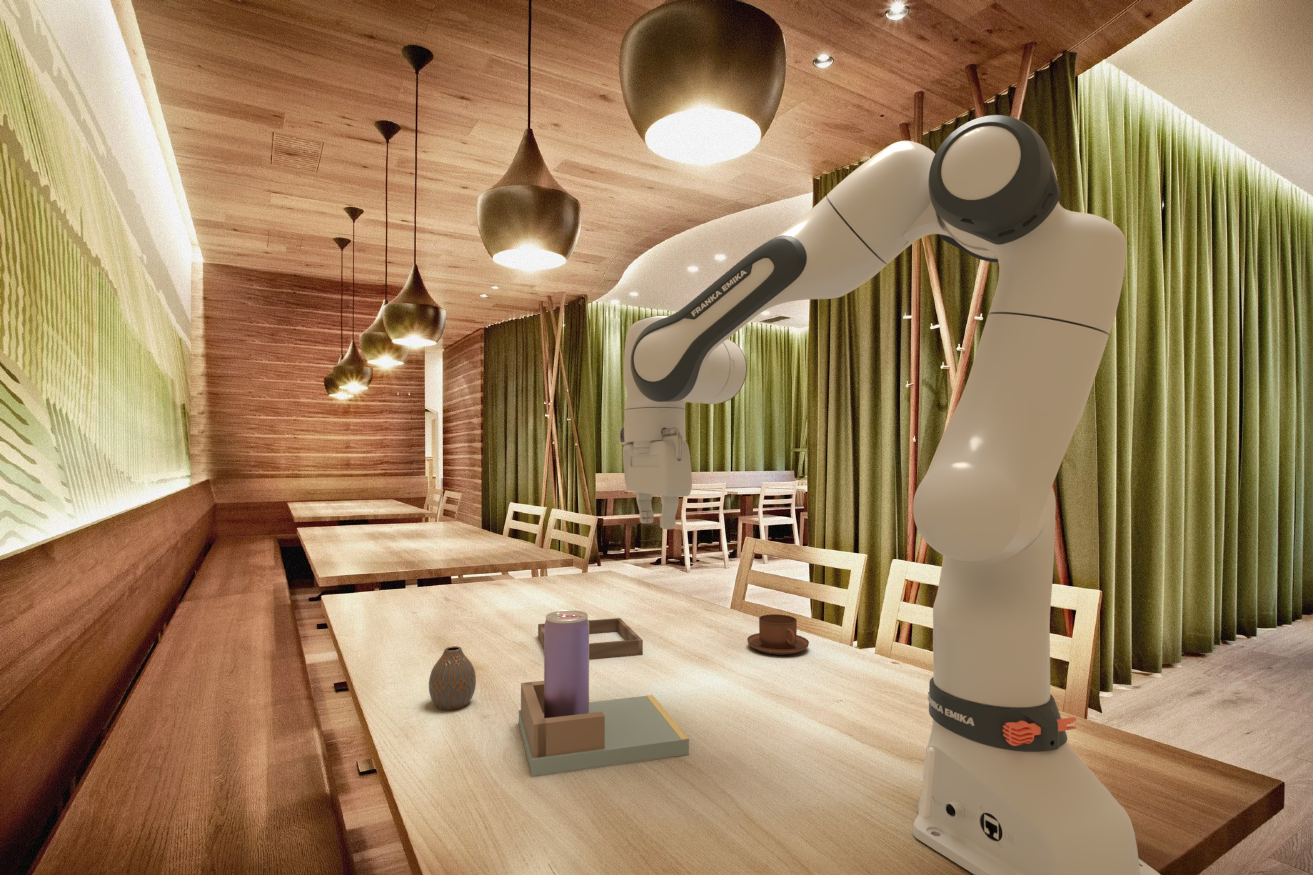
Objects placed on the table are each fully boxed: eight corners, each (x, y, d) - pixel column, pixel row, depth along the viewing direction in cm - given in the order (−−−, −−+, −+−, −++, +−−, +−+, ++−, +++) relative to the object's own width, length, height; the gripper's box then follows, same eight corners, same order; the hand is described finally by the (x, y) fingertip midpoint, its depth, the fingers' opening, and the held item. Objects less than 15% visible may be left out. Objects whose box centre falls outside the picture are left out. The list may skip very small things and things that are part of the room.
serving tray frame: (642, 655, 126) (642, 640, 126) (550, 664, 120) (550, 647, 120) (619, 631, 142) (620, 617, 143) (538, 638, 137) (538, 623, 137)
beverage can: (581, 738, 85) (582, 621, 85) (537, 735, 86) (538, 619, 86) (593, 720, 90) (594, 610, 91) (552, 717, 91) (552, 608, 92)
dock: (688, 754, 85) (689, 707, 85) (531, 776, 79) (532, 726, 79) (652, 708, 100) (652, 668, 100) (518, 724, 94) (518, 681, 94)
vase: (424, 716, 97) (425, 656, 97) (432, 698, 104) (433, 642, 104) (472, 713, 98) (473, 654, 98) (478, 696, 105) (478, 640, 105)
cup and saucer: (821, 651, 129) (821, 619, 129) (781, 663, 122) (781, 630, 122) (774, 638, 139) (774, 608, 139) (734, 648, 131) (734, 617, 131)
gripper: (702, 426, 87) (704, 531, 86) (654, 433, 106) (655, 519, 105) (657, 425, 85) (659, 533, 84) (616, 433, 104) (617, 521, 103)
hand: (656, 525), depth 95 cm, fingers open, 8 cm apart
